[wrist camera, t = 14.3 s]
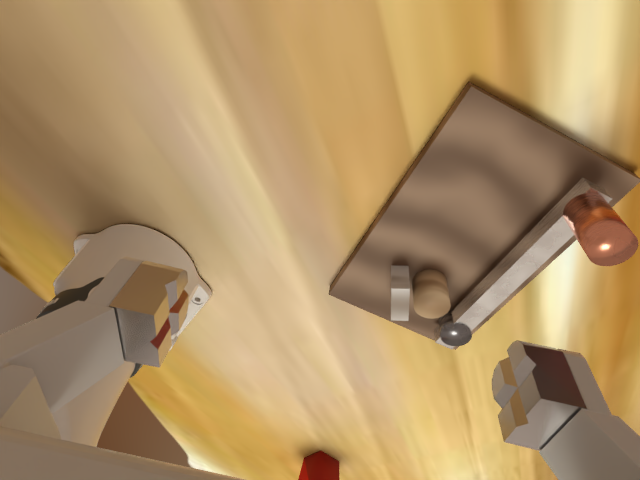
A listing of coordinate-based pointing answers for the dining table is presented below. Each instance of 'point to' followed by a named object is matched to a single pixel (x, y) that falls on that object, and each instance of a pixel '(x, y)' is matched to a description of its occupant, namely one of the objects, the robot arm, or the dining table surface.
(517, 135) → the nutcracker base
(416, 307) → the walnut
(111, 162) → the dining table surface
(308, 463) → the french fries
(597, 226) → the lever
